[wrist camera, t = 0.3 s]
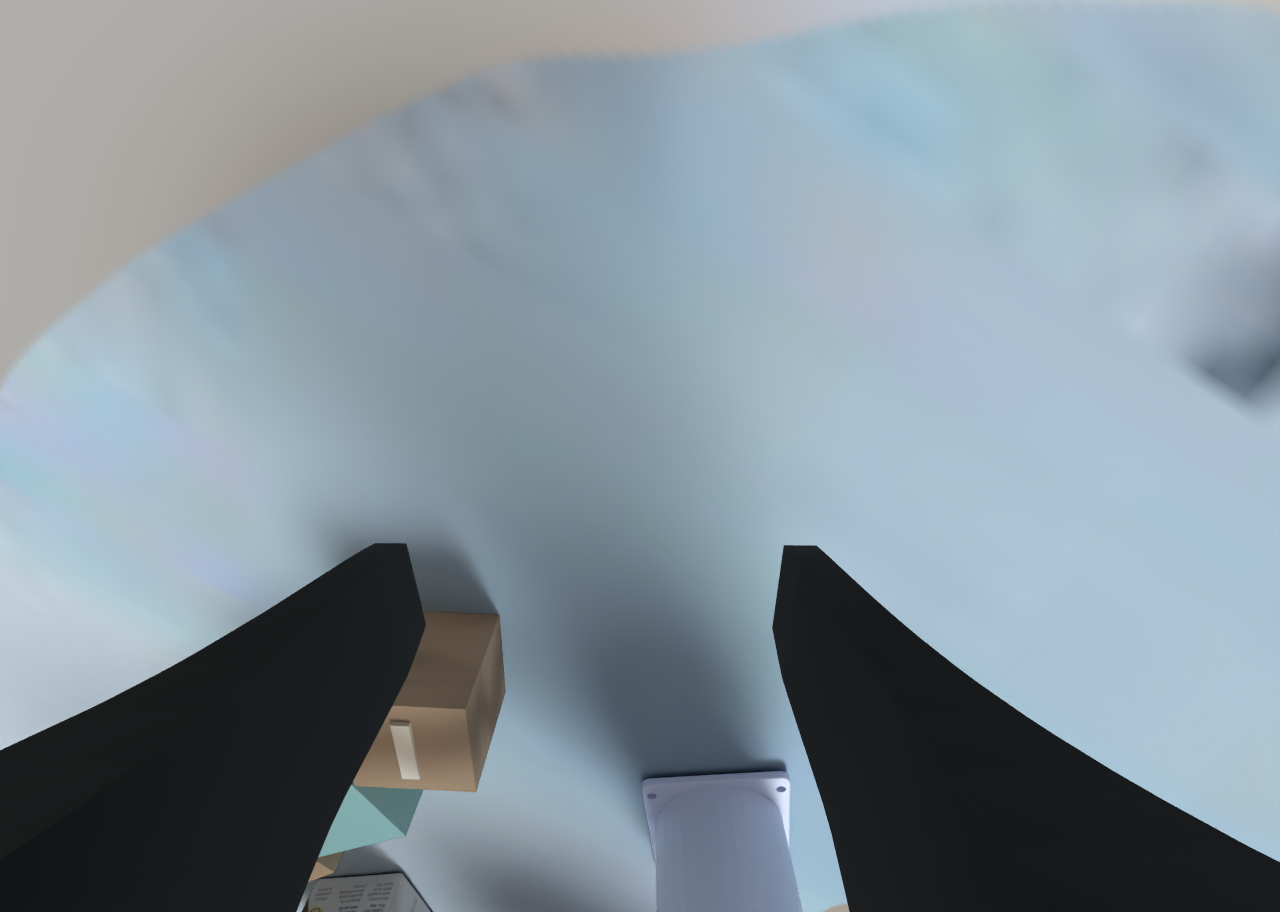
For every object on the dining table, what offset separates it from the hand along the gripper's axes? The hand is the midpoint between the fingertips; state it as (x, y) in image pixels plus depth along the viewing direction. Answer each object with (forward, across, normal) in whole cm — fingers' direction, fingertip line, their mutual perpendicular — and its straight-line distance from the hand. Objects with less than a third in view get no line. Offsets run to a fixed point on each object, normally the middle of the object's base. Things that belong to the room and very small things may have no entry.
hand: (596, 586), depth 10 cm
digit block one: (+10, +8, +12) cm, 18 cm away
